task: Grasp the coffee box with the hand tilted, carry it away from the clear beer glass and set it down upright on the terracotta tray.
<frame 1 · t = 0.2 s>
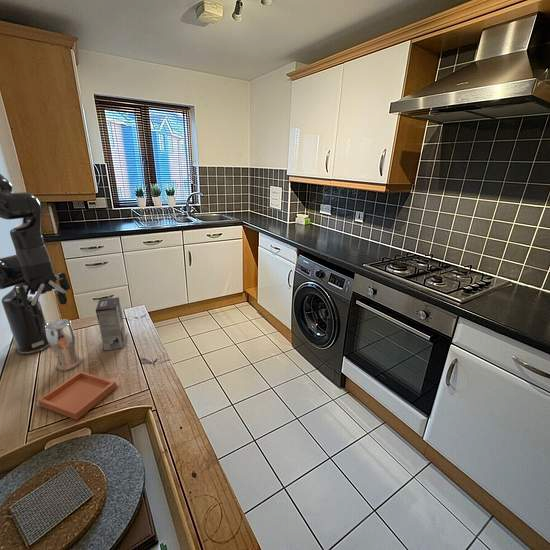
hand: (50, 309, 93), 17 cm above the table, tool pointing down, fingers open, 8 cm apart
beer glass: (68, 364, 95), on the table
tray: (79, 396, 82), on the table
coffee box: (115, 342, 107), on the table
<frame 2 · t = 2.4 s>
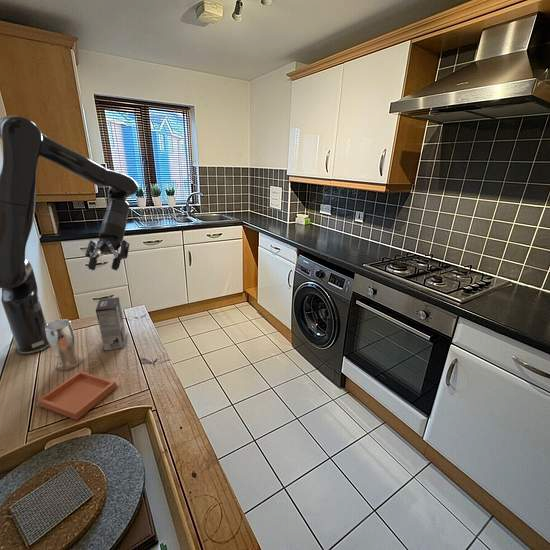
hand: (102, 269, 98), 28 cm above the table, tool tilted 40°, fingers open, 8 cm apart
nothing on the table moved.
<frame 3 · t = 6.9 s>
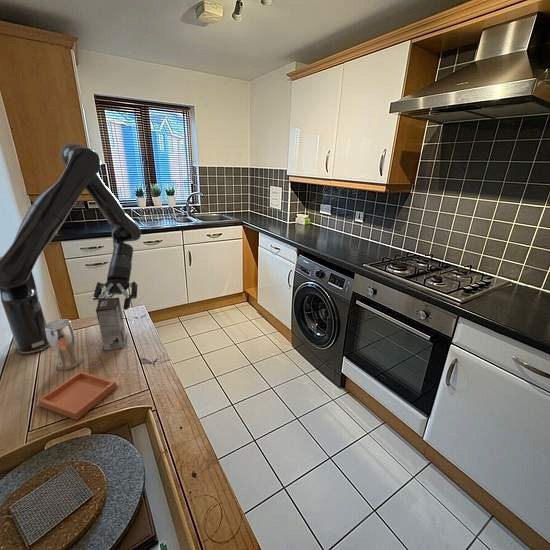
hand: (113, 309, 105), 12 cm above the table, tool tilted 45°, fingers open, 8 cm apart
nothing on the table moved.
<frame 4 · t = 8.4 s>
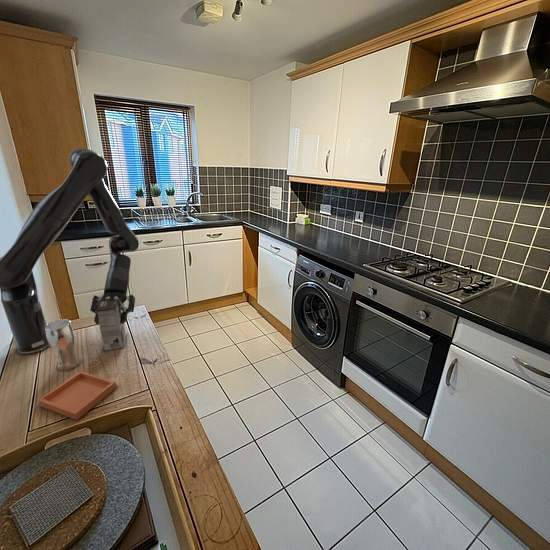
hand: (110, 323, 102), 9 cm above the table, tool tilted 45°, fingers closed on coffee box, 7 cm apart
coffee box: (115, 342, 107), on the table, touching gripper
everything else where it was.
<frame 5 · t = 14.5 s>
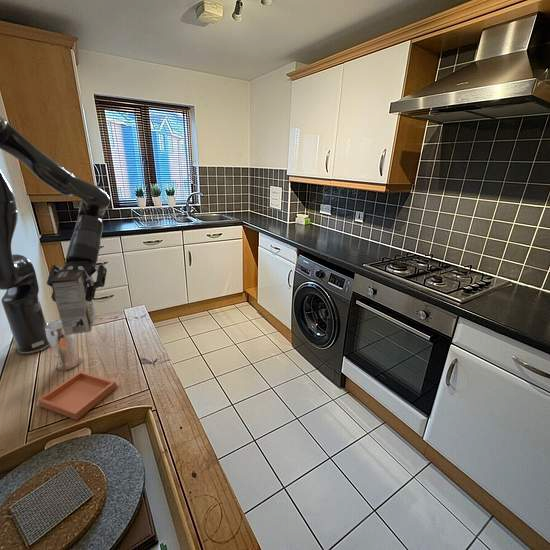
hand: (72, 301, 79), 26 cm above the table, tool tilted 45°, fingers closed on coffee box, 7 cm apart
coffee box: (81, 326, 83), point 18 cm above the table, touching gripper
everything else where it was.
when the fingers open (11 cm above the table, at t = 20.4 s): coffee box stays where it is, resting on tray.
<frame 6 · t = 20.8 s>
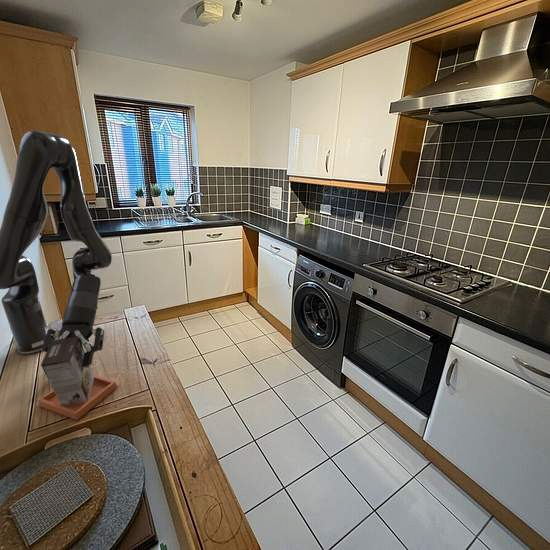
hand: (68, 367, 77), 11 cm above the table, tool tilted 45°, fingers open, 8 cm apart
coffee box: (79, 392, 82), point 1 cm above the table, touching tray
everything else where it was.
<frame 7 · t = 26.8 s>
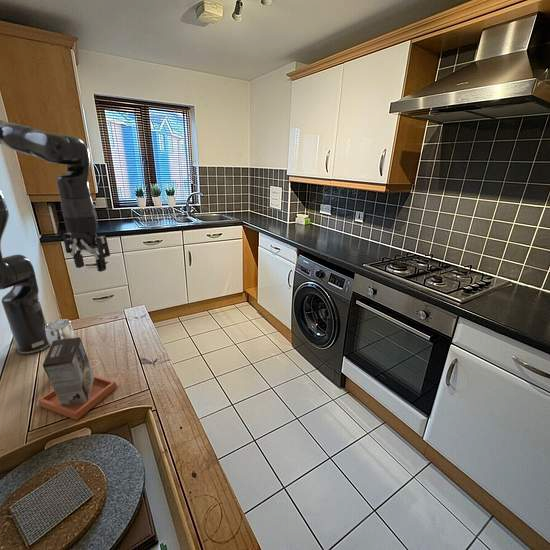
hand: (91, 268, 86), 32 cm above the table, tool pointing down, fingers open, 8 cm apart
nothing on the table moved.
at the end: coffee box inside the target area in the tray (0.3 cm from its centre), point 1.2 cm above the tray's base; coffee box tilted 10° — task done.
